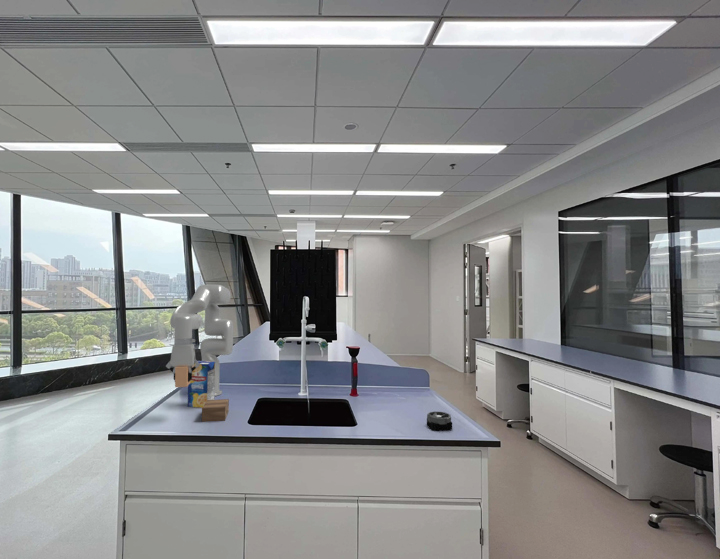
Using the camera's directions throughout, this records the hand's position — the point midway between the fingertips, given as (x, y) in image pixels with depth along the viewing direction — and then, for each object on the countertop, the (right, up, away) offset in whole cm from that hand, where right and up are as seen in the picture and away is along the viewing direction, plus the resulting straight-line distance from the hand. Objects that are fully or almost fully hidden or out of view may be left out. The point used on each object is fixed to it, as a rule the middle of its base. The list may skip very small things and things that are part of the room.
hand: (182, 380), depth 186 cm
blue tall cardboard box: (+1, -18, +20) cm, 26 cm away
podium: (+15, -17, +2) cm, 23 cm away
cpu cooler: (+117, -18, -10) cm, 119 cm away
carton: (0, -2, 0) cm, 2 cm away
